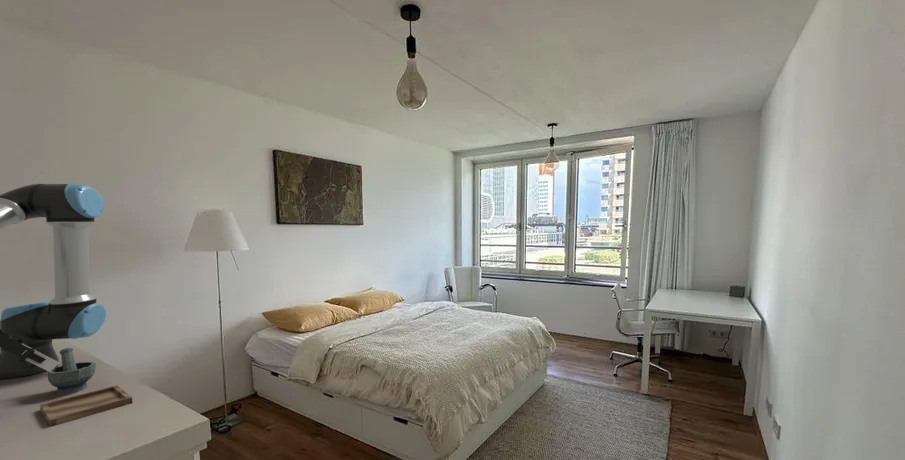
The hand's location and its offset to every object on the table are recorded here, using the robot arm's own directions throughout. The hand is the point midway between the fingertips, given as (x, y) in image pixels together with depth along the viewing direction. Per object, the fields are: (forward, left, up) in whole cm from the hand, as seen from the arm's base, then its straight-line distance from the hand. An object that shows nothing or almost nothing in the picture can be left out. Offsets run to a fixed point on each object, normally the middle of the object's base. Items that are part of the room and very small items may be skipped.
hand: (47, 363), depth 103 cm
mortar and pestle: (-4, +4, -10) cm, 11 cm away
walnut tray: (+13, +14, -10) cm, 21 cm away
